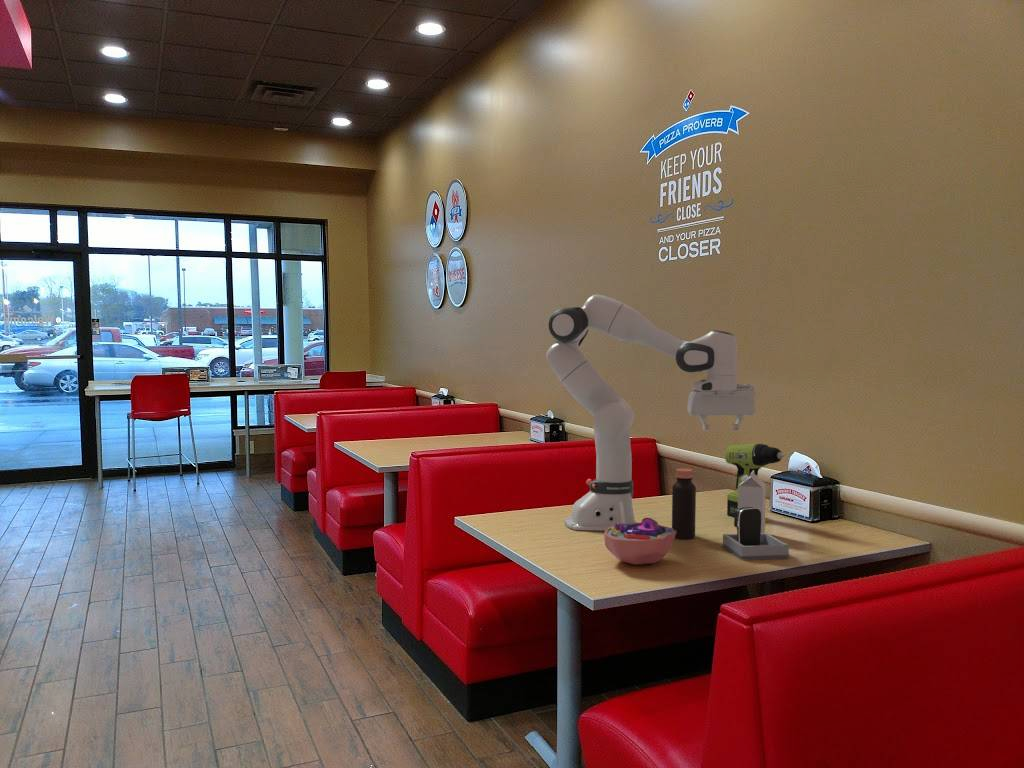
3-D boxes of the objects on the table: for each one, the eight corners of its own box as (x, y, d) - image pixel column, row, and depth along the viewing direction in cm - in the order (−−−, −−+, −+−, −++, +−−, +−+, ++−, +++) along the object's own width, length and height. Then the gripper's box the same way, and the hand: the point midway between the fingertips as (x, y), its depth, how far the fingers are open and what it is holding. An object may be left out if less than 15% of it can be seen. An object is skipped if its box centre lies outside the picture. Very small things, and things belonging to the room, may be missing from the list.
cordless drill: (791, 526, 234) (793, 447, 233) (775, 529, 231) (777, 448, 230) (737, 511, 255) (738, 438, 253) (721, 513, 251) (722, 439, 250)
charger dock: (741, 560, 199) (742, 545, 199) (722, 546, 212) (722, 533, 212) (788, 558, 201) (789, 544, 200) (767, 545, 214) (767, 531, 213)
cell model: (589, 559, 200) (589, 517, 200) (648, 548, 210) (648, 508, 209) (629, 576, 186) (629, 531, 185) (690, 564, 195) (690, 521, 195)
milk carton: (764, 533, 227) (766, 470, 226) (762, 538, 220) (763, 474, 219) (740, 530, 230) (741, 469, 229) (737, 536, 223) (738, 472, 222)
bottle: (682, 540, 218) (683, 472, 217) (666, 535, 224) (667, 468, 223) (700, 537, 221) (701, 470, 220) (684, 532, 227) (685, 467, 226)
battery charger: (752, 545, 209) (753, 505, 209) (761, 549, 206) (762, 508, 205) (731, 548, 207) (732, 507, 206) (740, 551, 203) (741, 510, 203)
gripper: (750, 383, 231) (749, 428, 231) (685, 383, 228) (685, 429, 229) (759, 384, 224) (758, 430, 225) (693, 385, 222) (692, 431, 223)
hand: (721, 429), depth 227 cm, fingers open, 8 cm apart
